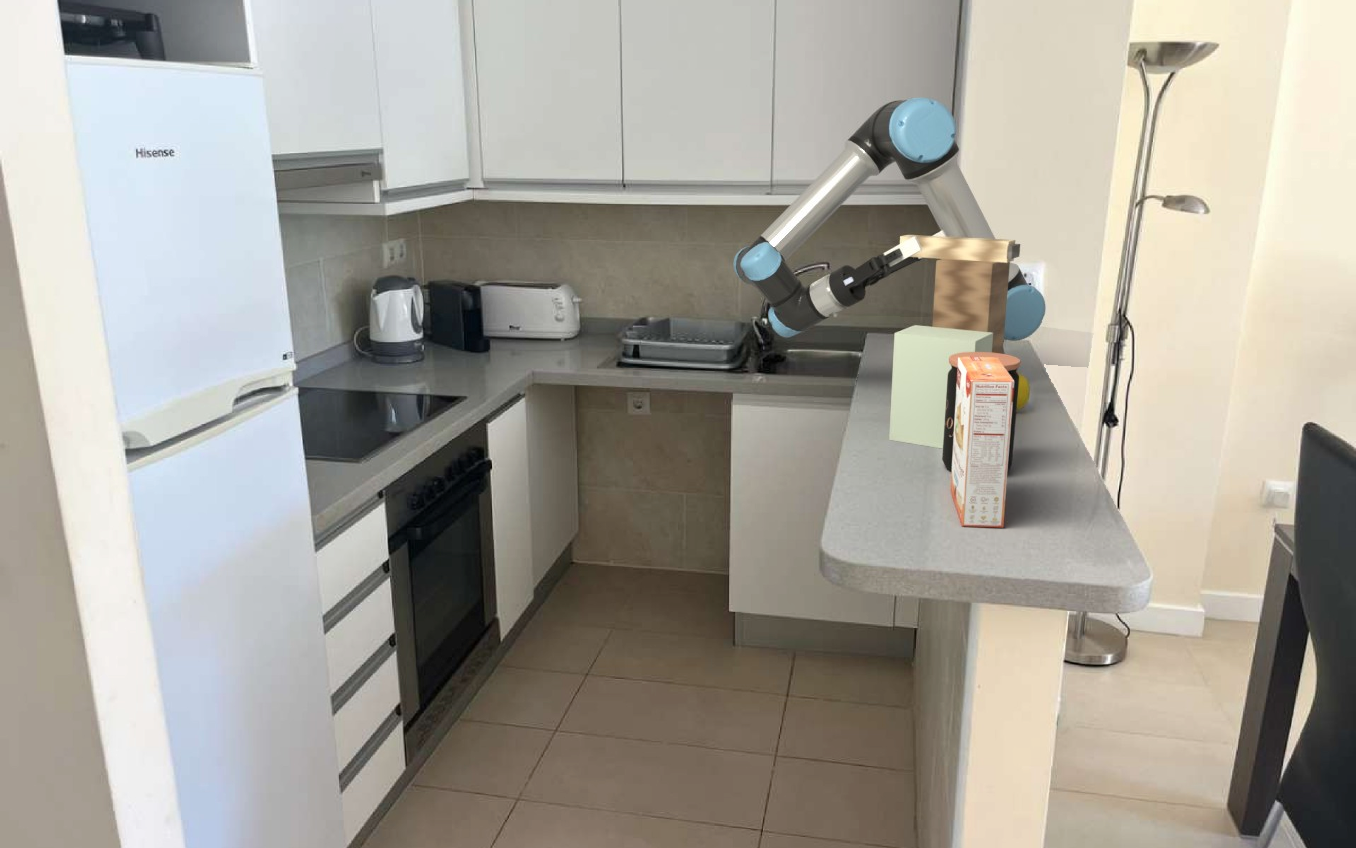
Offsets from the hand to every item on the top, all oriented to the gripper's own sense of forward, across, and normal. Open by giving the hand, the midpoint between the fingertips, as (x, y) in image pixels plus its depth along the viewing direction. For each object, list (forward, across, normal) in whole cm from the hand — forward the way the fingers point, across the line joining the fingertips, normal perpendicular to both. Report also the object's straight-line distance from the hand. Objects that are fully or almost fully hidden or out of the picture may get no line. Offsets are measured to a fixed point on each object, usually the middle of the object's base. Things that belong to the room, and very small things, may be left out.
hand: (932, 239), depth 182 cm
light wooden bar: (+2, 0, -5) cm, 5 cm away
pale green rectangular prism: (-10, +14, -33) cm, 37 cm away
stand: (-10, 0, -33) cm, 34 cm away
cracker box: (+5, +45, -42) cm, 61 cm away
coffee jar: (0, +26, -39) cm, 47 cm away
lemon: (-5, -11, -36) cm, 38 cm away
